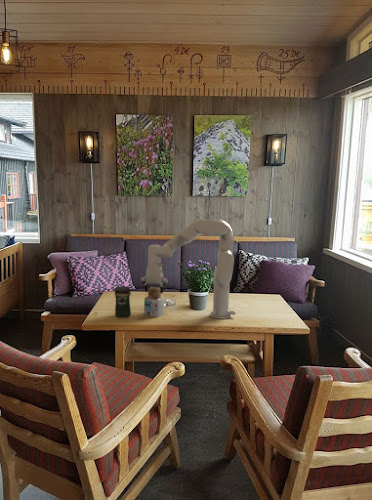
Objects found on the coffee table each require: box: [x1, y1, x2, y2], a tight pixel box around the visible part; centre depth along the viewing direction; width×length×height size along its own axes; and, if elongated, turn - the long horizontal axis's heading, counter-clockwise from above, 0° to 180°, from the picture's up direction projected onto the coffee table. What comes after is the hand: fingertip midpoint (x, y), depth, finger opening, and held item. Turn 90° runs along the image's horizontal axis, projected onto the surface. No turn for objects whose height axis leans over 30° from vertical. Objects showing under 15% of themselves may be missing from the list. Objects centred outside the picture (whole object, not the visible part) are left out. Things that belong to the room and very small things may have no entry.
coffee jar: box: [114, 285, 132, 319], centre depth 247 cm, size 10×8×19 cm
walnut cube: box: [147, 286, 162, 300], centre depth 250 cm, size 6×6×6 cm
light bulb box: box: [143, 296, 165, 318], centre depth 252 cm, size 11×7×11 cm, turn 62°
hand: (154, 292), depth 250 cm, fingers open, 9 cm apart
